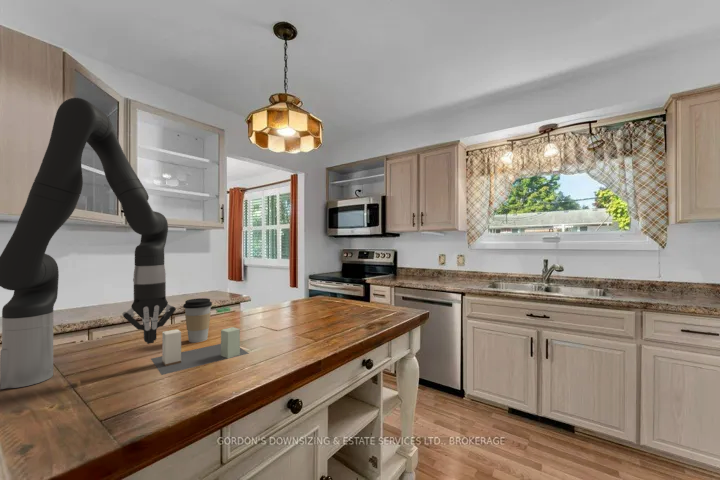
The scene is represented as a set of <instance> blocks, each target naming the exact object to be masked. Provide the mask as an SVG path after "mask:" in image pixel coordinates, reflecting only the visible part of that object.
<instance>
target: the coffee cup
mask: <svg viewBox="0 0 720 480" xmlns="http://www.w3.org/2000/svg"><path fill="white" fill-rule="evenodd" d="M212 303H213V302H212V301H211V299H210V298H207V297H202V298H192V299H188V300H187V299H186V300H185V303H184V304H183V305H182V308H183V309H184V312H185V314H184V315H185V325H186V330H187V331H186V332H187V337H188V338H187V339H188V342H189V343H194V344H196V343H201V342H205V341H207V340H208V338H209V337H208V335H209V329H210V324H211V323H210V321H211V308H212V305H213V304H212Z"/></svg>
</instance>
